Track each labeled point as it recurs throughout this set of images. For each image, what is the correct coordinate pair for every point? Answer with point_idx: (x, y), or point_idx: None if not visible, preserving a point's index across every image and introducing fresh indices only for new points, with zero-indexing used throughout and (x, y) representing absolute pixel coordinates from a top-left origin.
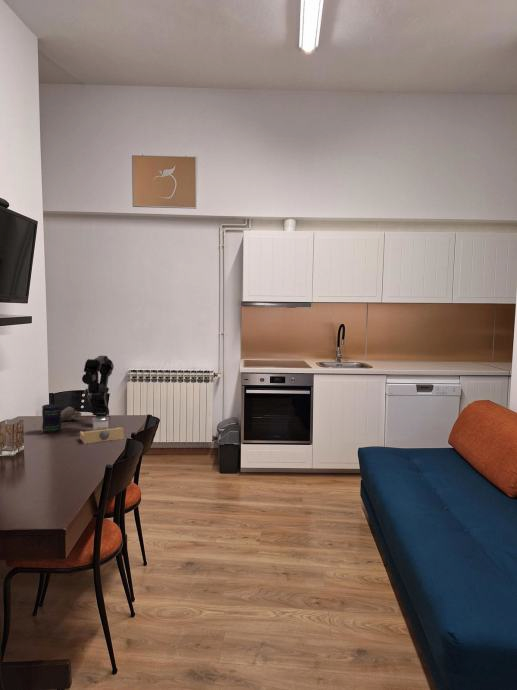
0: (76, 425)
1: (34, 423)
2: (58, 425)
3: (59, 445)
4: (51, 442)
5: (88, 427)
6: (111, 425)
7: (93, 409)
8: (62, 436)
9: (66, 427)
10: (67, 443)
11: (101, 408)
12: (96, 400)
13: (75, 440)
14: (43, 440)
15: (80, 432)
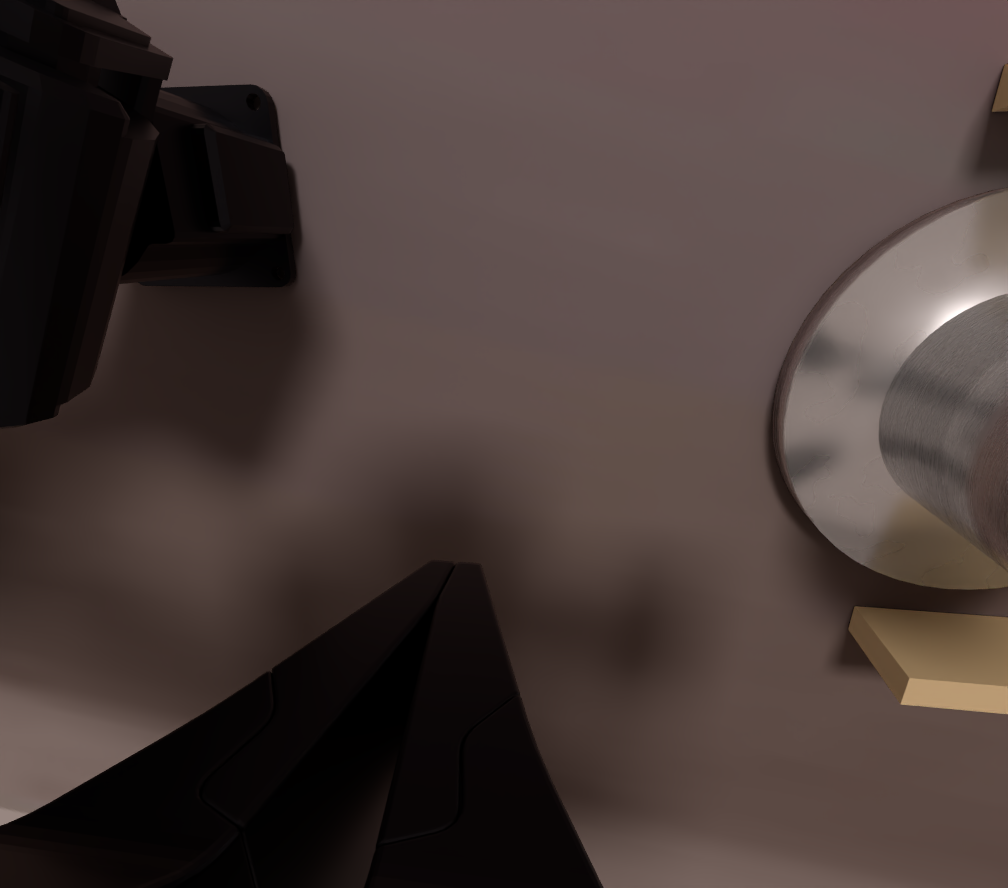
0: (165, 503)
1: (8, 782)
2: None
3: (955, 833)
4: (784, 850)
5: (312, 402)
6: (299, 22)
7: (63, 401)
8: (610, 732)
9: (233, 612)
10: (939, 767)
11: (80, 194)
12: (583, 852)
13: (874, 680)
14: (664, 873)
15: (934, 703)
